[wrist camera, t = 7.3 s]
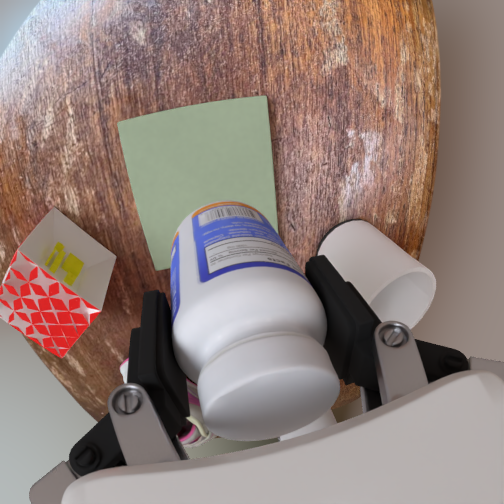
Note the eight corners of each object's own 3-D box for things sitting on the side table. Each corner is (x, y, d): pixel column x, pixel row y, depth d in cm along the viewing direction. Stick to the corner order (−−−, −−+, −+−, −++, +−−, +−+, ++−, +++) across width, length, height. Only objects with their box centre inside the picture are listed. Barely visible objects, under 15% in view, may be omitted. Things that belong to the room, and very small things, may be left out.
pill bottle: (227, 302, 18) (270, 457, 9) (150, 255, 15) (140, 432, 7) (293, 237, 16) (391, 379, 8) (219, 174, 14) (285, 316, 6)
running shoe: (221, 421, 45) (232, 470, 37) (105, 373, 34) (99, 436, 26) (261, 397, 44) (277, 450, 35) (141, 339, 32) (139, 411, 24)
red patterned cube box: (116, 256, 27) (101, 311, 20) (78, 303, 28) (62, 358, 21) (53, 205, 23) (16, 248, 16) (21, 261, 24) (-10, 310, 17)
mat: (118, 121, 21) (116, 122, 20) (264, 95, 22) (266, 95, 22) (156, 266, 28) (155, 271, 27) (276, 241, 30) (279, 245, 29)
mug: (312, 220, 29) (364, 280, 21) (384, 209, 31) (446, 257, 22) (308, 304, 35) (345, 370, 26) (371, 288, 36) (415, 343, 28)
